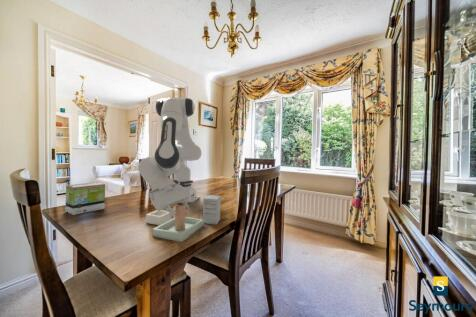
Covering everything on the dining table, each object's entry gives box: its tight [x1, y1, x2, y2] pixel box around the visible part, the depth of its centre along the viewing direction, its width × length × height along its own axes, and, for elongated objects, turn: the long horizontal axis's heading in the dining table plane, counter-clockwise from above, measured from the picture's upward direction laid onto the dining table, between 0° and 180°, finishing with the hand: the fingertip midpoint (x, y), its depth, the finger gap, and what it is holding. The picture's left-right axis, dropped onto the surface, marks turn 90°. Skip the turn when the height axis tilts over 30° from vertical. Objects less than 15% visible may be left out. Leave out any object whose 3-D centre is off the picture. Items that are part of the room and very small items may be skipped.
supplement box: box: [202, 194, 222, 225], centre depth 101 cm, size 7×7×13 cm
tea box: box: [64, 181, 106, 216], centre depth 111 cm, size 15×10×15 cm, turn 151°
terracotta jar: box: [174, 204, 187, 231], centre depth 88 cm, size 4×4×10 cm
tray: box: [152, 216, 205, 243], centre depth 88 cm, size 18×14×3 cm
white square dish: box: [145, 209, 172, 226], centre depth 99 cm, size 8×8×4 cm
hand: (181, 211), depth 88 cm, fingers open, 8 cm apart
